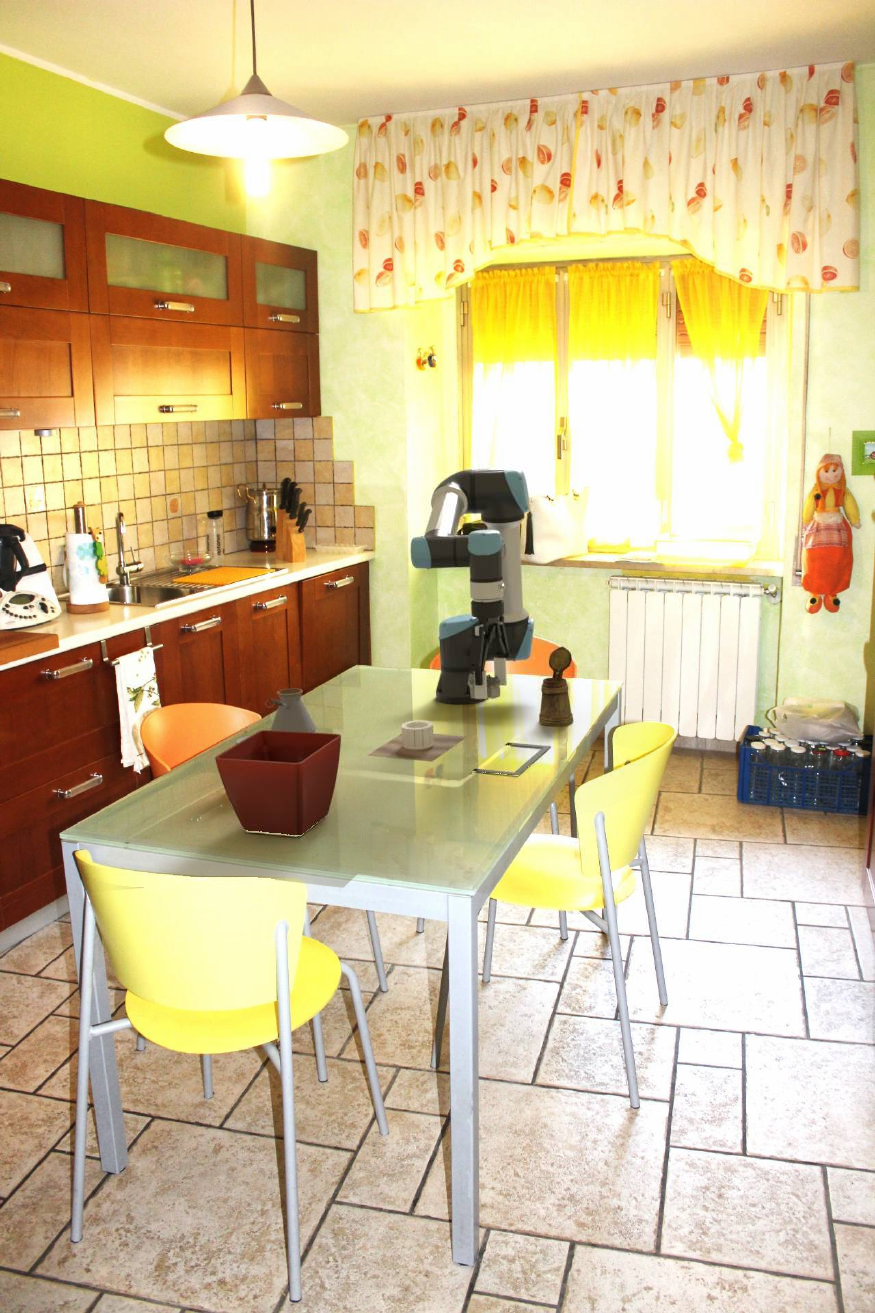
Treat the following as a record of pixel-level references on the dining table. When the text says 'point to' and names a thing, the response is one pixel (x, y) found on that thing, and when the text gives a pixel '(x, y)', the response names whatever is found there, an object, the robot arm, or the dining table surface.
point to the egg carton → (492, 686)
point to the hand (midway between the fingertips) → (491, 691)
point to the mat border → (525, 765)
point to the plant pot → (281, 779)
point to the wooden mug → (556, 691)
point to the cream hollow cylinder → (417, 735)
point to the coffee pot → (291, 713)
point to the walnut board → (397, 750)
